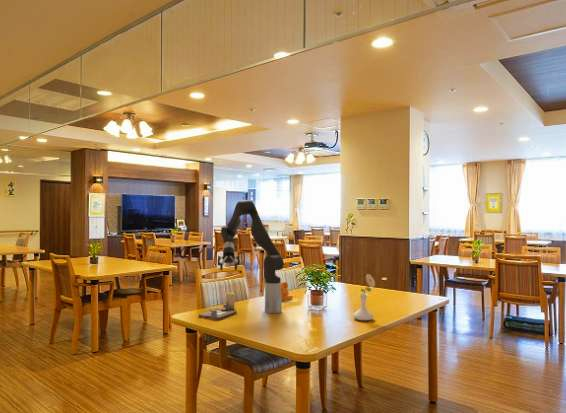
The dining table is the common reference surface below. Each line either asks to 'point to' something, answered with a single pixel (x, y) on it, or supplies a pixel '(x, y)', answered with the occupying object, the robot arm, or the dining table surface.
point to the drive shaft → (225, 307)
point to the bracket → (285, 291)
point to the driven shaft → (214, 313)
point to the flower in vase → (363, 312)
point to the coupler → (230, 301)
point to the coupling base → (218, 314)
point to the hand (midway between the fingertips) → (228, 269)
